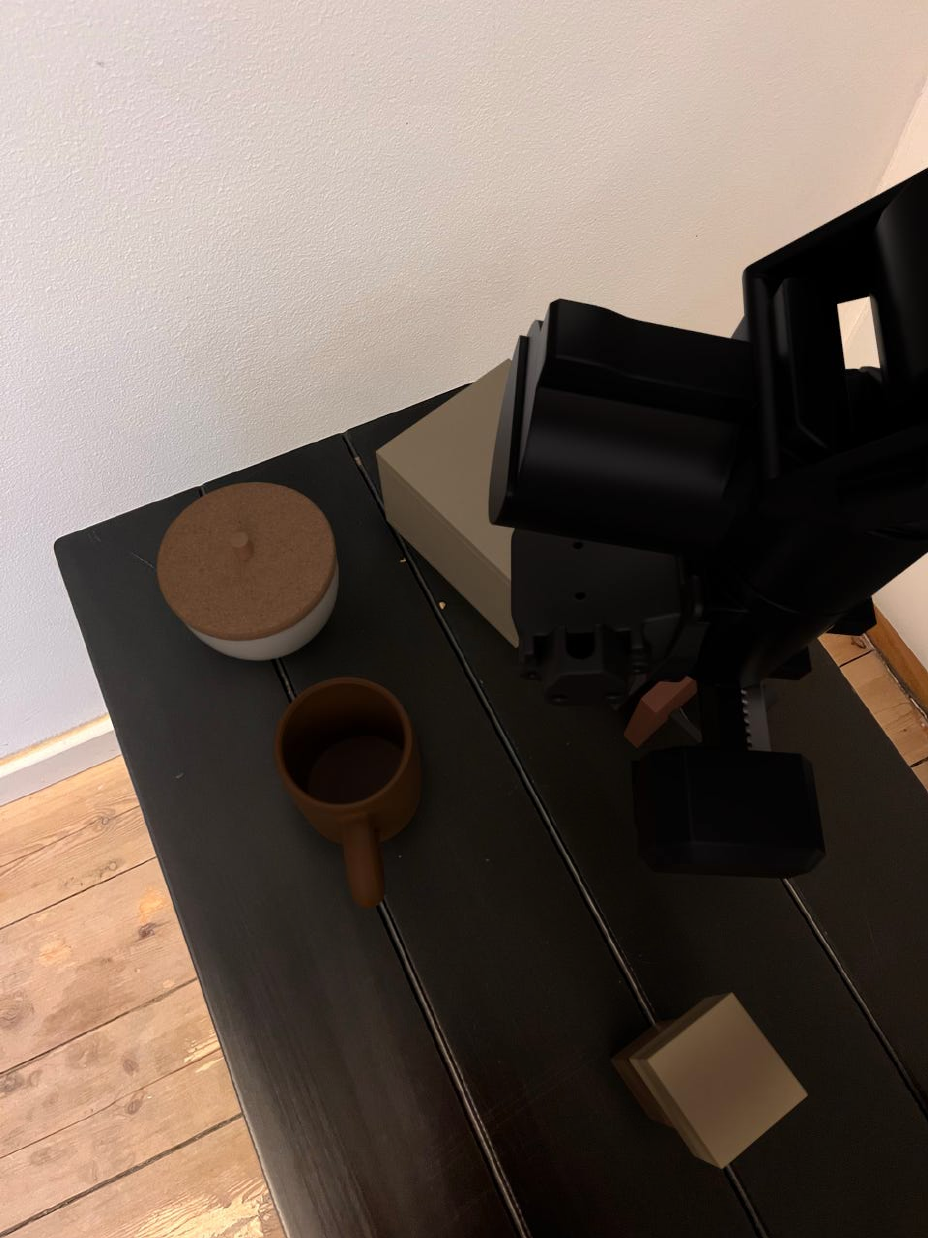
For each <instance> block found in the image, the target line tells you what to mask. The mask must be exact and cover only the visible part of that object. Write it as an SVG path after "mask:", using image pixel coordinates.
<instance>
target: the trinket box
mask: <svg viewBox="0 0 928 1238" xmlns="http://www.w3.org/2000/svg"><path fill="white" fill-rule="evenodd" d="M336 546H337V545H336V540H335V534H334V533H333V530H332V527H331V524H330V522H329V520H328V519H327V516H326V515H325V513H324V512H323V511H322V510H321V509H320V507H318V505H317V504H316V503H314V501H312V500H311V499H310V498H309V497H307V496H306V495H304V494H302V493H300V492H299V491H297V490H295V489H292V488H289V487H288V486H285V485H280V484H276V483H272V482H263V481H251V482H249V481H248V482H240V483H234V484H229V485H226V486H223V487H220V488H217V489H215V490H213V491H210V492H208V493H206V494H204V495H203V496H201V497H199V498H198V499H196V500H195V501H193V502H192V503H191V504H189V505H188V506H187V507H186V508H184V509H183V510H182V512H181V513H179V514H178V516H177V517H176V518H174V520H173V521H172V523H171V524H170V525H169V527H168V529H167V530H166V533H165V535H164V536H163V539H162V540H161V543H160V547H159V550H158V554H157V560H156V575H157V581H158V585H159V589H160V591H161V593H162V596H163V598H164V600H165V602H166V603H167V604H168V606H169V607H170V608H171V610H172V611H173V612H174V614H175V615H176V617H178V618H179V619H180V620H181V621H182V622H183V624H184V625H185V626H186V627H187V629H188V630H190V632H192V633H193V634H194V635H195V636H196V637H197V638H198V639H199V640H200V641H201V642H203V643H204V644H206V646H207V645H208V646H209V647H210V648H212V649H214V650H215V651H217V652H219V653H222V654H223V655H226V656H229V657H231V658H235V659H240V660H247V661H269V660H274V659H279V658H281V657H285V656H287V655H290V654H292V653H294V652H297V651H298V650H300V649H301V648H303V647H305V646H306V645H307V644H309V643H310V642H311V641H312V640H313V639H314V638H315V637H316V636H318V634H319V633H320V632H321V630H322V629H323V628H325V625H326V624H327V622H328V621H329V618H330V617H331V616H332V613H333V611H334V608H335V605H336V601H337V598H338V597H337V596H338V591H339V585H340V584H339V579H340V576H339V575H340V572H339V571H340V570H339V568H340V567H339V562H338V557H337V547H336Z"/></svg>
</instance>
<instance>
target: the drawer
mask: <svg viewBox="0 0 928 1238" xmlns="http://www.w3.org/2000/svg"><path fill="white" fill-rule="evenodd" d="M650 681H651V680H646V674H642V675H635V676H633V677H631V678H630V679H629V698H627V699H626V700H625V701H623V702H621V703H618V704H613V705H609V707H611V708H612V709H613V710H614V711H615V712H617V711H618V710H619V709H621V708H622V707H623V706H624V705H625V704H626V703H627V702H628V701H629V700H630V699H632V697H634V696H635V695H636V694H637V693H638V692H639V691H641V689H643V688H644V687H645V686H646V685H647V684H648V683H650ZM762 686H763V694H764V701H765V709H766V714H767V713H768V712H769V711H770V710H771V709H772V708H773V707H774V706H775V705H776V704H777V703H778V702H779V700H780V697H779V695H778V693H777V692H776V690H775V689H774V688H772V687H771V686H769V685H768V684H763V683H762ZM695 694H697V685H696V681H695V680H693V679H691V678H689V677H688V676H686V677H685V678H684V679H683V680H682V681H681V682H663V681H657V683H656V684H655V685H654V686H653V687H651V688H650V690H648V691H647V692H646V693H645V694H644V695H642V697H640V699H639V701H638V703H637V704H636V705H637V706H636V708H635V710H634V711H633V714H632V716H631V718H630V720H629V722H628V723H627V726H626V728H625V729H624V730H625V731H624V732H623V736H624V737H625V738H626V739H627V740H628V741H629V742H630V743H631V744H632V745H633V746H634V747H635V748H636V749H637V748H639V747H640V746H641V745H642V744H643V743H644V742H645V741H647V739H648V738H650V736H652V735H653V734H654V733H655V732H656V731H657V730H658V729H659V728H661V726H662V725H664V723H666V722H667V721H668V720H670V721H671V722H672V724H673V725H675V726H676V727H677V728H678V729H679V730H680V731H681V732H682V733H683V734H684V735H686V737H687V738H689V739H690V740H691V742H693V743H694V744H695V746H701V747H703V745H702V735H701V730H699V728H697V727H696V726H695V725H694V724H693V723H692V722H691V721H690V720H689V719H688V718H686V716H684V715H683V714H682V713H681V712H680V711H679V709H681V708H682V707H683V706H684V705H685V704H686V703H687V702H688V701H689V700H690V699H691V698H692V697H693V696H695ZM744 717H745V716H744Z"/></svg>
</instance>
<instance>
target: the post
mask: <svg viewBox="0 0 928 1238" xmlns="http://www.w3.org/2000/svg"><path fill="white" fill-rule="evenodd" d="M678 1019H679V1018H675V1019H668V1020H659V1021H657V1022H655V1023H654V1024H653V1025H651V1026H650V1027H648V1029H646V1030H645V1031H644V1032H643V1033H642V1034H640V1035H638V1036H637V1037H636V1038H635V1039H634V1040H632V1041H631V1042H630V1043H628V1044H627V1045H626V1046H625V1047H623V1048H622V1049H621V1050H620V1051H619V1052H616V1054H614V1056H612V1057H611V1058H610V1062H611V1064H612V1065H613V1066H614V1068H615V1070H616V1071H617V1073H618V1074H619V1075H620V1077H621V1078H622V1080H623V1082H624V1083H625V1084H626V1087H627V1088H628V1089H629V1091H630V1092H631V1093H632V1095H633V1097H634V1098H635V1099H636V1101H637V1102H638V1104H639V1106H640V1107H641V1109H642V1110H643V1112H644V1113H645V1115H646V1116H647V1118H648V1119H650V1120H651V1121H655V1122H657V1123H660V1124H663V1125H665V1126H668V1127H670V1128H673V1129H675V1130H676V1128H675V1127H674V1125H673V1124H672V1122H671V1121H670V1119H669V1118H668V1116H667V1115H666V1113H665V1112H664V1110H663V1109H662V1107H661V1106H660V1105H659V1103H658V1102H657V1100H656V1099H655V1097H654V1096H653V1094H652V1093H651V1091H650V1090H649V1088H648V1087H647V1085H646V1084H645V1082H644V1081H643V1079H642V1078H641V1076H640V1075H639V1073H638V1072H637V1070H636V1069H635V1067H634V1066H633V1064H632V1063H631V1061H630V1060H629V1058H630V1057H631V1056H632V1055H634V1054H635V1053H636V1052H637V1051H639V1050H640V1049H641V1048H642V1047H644V1046H645V1045H646V1044H647V1043H649V1042H650V1041H651V1040H653V1039H654V1038H655V1037H656V1036H658V1035H659V1034H660V1033H661V1032H663V1031H664V1030H665V1029H666V1028H668V1027H669V1026H670V1025H671V1024H673V1023H674V1022H675V1021H676V1020H678Z"/></svg>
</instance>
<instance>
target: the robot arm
mask: <svg viewBox="0 0 928 1238" xmlns="http://www.w3.org/2000/svg"><path fill="white" fill-rule="evenodd" d="M741 287H742V288H741V289H742V300H743V301H742V303H743V304H742V305H743V316H742V318H741V320H740V322H739V323H738V324H737V326H736V328H735V329H734V331H733V333H732V335H731V336H730V337H728V336H723V335H722V336H721V335H718V334H717V335H716V334H711V333H706V332H702V331H696V330H691V329H685V328H681V327H676V326H671V325H666V324H660V323H656V322H655V323H654V322H650V321H645V320H641V319H637V318H632V317H629V316H626V315H624V314H621V313H620V312H617V311H614V310H612V309H609V308H608V307H604V306H600V305H596V304H592V303H586V302H582V301H576V300H571V299H566V298H560V297H559V298H557V299H554V300H553V301H550V303H549V304H548V308H547V310H546V313H545V316H544V319H543V320H540V319H534V320H533V321H532V323H531V324H530V327H529V329H528V331H527V333H526V335H523V334H519V335H518V338H517V342H516V345H515V349H514V351H513V356H512V359H511V360H512V362H511V366H510V370H509V374H508V378H507V383H506V387H505V392H504V396H503V401H502V406H501V411H500V417H499V422H498V428H497V433H496V440H495V446H494V452H493V460H492V468H491V476H490V486H489V502H488V514H489V521H490V523H491V524H492V525H497V526H503V527H509V528H515V529H514V531H513V533H512V537H511V616H512V619H513V622H514V625H515V628H516V631H517V634H518V637H519V646H518V676H519V678H521V679H523V680H528V681H539V682H541V693H542V696H543V699H544V702H546V703H547V704H548V705H552V706H554V707H559V708H565V707H566V708H567V707H587V706H590V707H591V706H610V705H613V704H618V703H621V702H623V701H625V700H626V699H627V698H629V679H630V678H631V677H633V676H635V675H642V674H646V680H650V681H651V682H659V681H663V682H681V681H682V680H683V679H684V678H685V677H686V676H688V677H689V678H691V679H693V680H695V681H696V685H697V693H696V694H697V704H698V714H699V724H700V732H701V735H702V745H703V747H701V746H697V745H687V744H683V745H682V744H681V745H677V746H671V747H665V748H658V749H652V750H649V751H648V752H647V753H645V754H644V755H643V756H642V757H641V758H640V759H639V760H633V759H632V760H631V761H630V772H631V787H632V788H631V790H632V805H633V817H634V818H633V820H634V824H635V827H636V836H637V852H638V853H637V854H638V857H639V858H640V859H641V860H642V861H643V862H644V863H645V864H646V865H647V867H649V868H650V869H651V871H652V872H654V873H661V874H677V875H678V874H680V875H695V876H696V875H698V876H701V875H702V876H717V877H719V876H720V877H737V878H755V879H756V878H758V879H775V880H776V879H778V880H790V879H793V878H796V877H798V876H799V877H800V876H802V875H805V874H808V873H811V872H812V871H813V870H814V869H815V868H816V867H817V865H819V864H820V862H821V861H822V860H823V859H824V858H825V857H826V856H827V851H826V846H825V845H826V844H825V838H824V831H823V826H822V818H821V812H820V805H819V800H818V793H817V785H816V781H815V774H814V766H813V762H812V761H811V760H810V759H808V758H807V757H806V756H805V755H803V753H800V752H799V753H798V752H784V751H772V747H771V739H770V732H769V725H768V717H767V713H766V709H765V701H764V694H763V686H762V685H763V681H764V679H775V680H786V681H798V682H799V681H800V680H802V679H803V678H804V677H805V676H807V675H809V674H810V673H812V672H813V666H812V660H811V654H810V649H809V645H810V644H812V643H814V641H816V640H817V639H818V638H820V637H821V636H822V635H824V634H827V635H839V636H850V637H862V636H863V635H865V634H866V633H867V632H868V631H870V630H871V629H872V628H874V627H876V626H877V625H878V621H877V615H876V610H875V606H874V601H873V596H874V595H875V594H876V593H878V592H879V591H880V590H881V589H883V588H884V587H886V585H888V584H889V583H891V582H892V581H893V580H894V579H896V578H897V577H898V576H899V575H901V574H902V573H903V572H904V571H906V570H907V569H909V568H910V567H911V566H913V564H915V563H916V562H918V561H919V560H920V559H922V558H923V557H924V556H925V555H927V554H928V167H925V168H924V169H922V170H920V171H919V172H916V173H915V174H913V175H911V176H909V177H908V178H905V179H904V180H901V181H900V182H898V183H896V184H895V185H893V186H891V187H889V188H887V189H885V190H884V191H882V192H880V193H879V194H876V195H874V196H873V197H871V198H868V200H865V201H864V202H862V203H860V204H858V205H856V206H854V207H852V208H851V209H849V210H847V211H846V212H843V213H842V214H840V215H838V216H836V217H834V218H833V219H831V220H829V221H827V222H825V223H823V224H822V225H820V226H818V227H816V228H814V229H813V230H811V231H809V232H807V233H805V234H803V235H802V236H799V237H798V238H796V239H794V240H792V241H791V242H789V243H787V244H785V245H783V246H781V247H779V248H778V249H776V250H774V251H773V252H770V253H769V254H767V255H765V256H763V257H761V258H760V259H758V260H755V261H754V262H752V263H750V264H748V265H747V266H746V267H745V268H744V269H743V271H742V274H741ZM866 298H869V305H870V310H871V318H872V322H873V323H872V324H873V330H874V337H875V345H876V351H877V358H878V363H879V367H877V366H873V365H863V366H860V367H859V368H855V367H854V368H846V361H845V353H844V345H843V339H842V330H841V323H840V315H839V306H838V305H840V304H841V305H842V304H845V303H849V302H853V301H857V300H861V299H866ZM744 716H745V717H744Z"/></svg>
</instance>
